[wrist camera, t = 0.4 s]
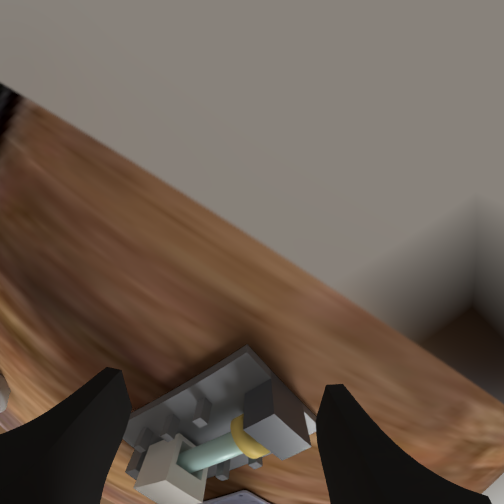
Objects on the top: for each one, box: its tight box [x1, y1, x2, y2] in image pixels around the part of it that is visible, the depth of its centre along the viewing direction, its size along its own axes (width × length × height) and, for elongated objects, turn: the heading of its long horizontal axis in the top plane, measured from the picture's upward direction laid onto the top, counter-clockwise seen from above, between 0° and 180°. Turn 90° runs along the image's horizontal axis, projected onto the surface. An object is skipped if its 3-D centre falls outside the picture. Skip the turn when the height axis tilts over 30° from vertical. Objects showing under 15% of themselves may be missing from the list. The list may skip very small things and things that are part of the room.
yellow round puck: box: [230, 414, 270, 459], centre depth 18 cm, size 1×4×4 cm, turn 37°
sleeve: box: [134, 433, 208, 504], centre depth 18 cm, size 4×4×5 cm
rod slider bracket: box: [122, 344, 316, 481], centre depth 19 cm, size 16×10×5 cm, turn 127°
